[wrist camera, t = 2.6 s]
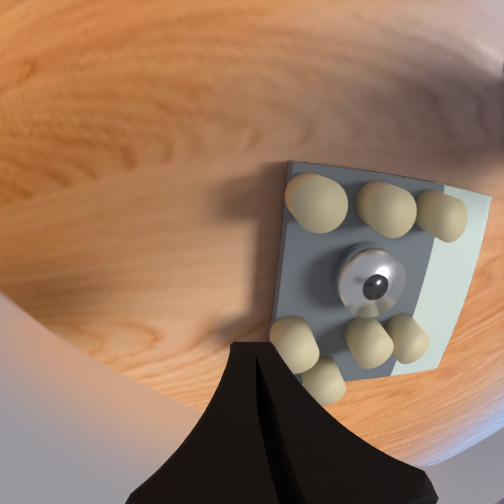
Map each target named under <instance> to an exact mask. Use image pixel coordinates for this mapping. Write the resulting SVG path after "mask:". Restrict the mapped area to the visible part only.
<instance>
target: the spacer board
mask: <svg viewBox="0 0 504 504" xmlns="http://www.w3.org/2000/svg"><path fill="white" fill-rule="evenodd" d="M491 197H492V196H489V195H486V194H483V193H480V192H476V191H472V190H468V189H464V188H459V187H455V186H451V185H446V184H441V183H436V182H432V181H427V180H421V179H416V178H411V177H405V176H400V175H394V174H388V173H382V172H376V171H369V170H362V169H355V168H348V167H341V166H333V165H324V164H316V163H307V162H297V161H288V167H287V178H286V189H285V199H284V209H283V219H282V229H281V239H280V248H279V257H278V266H277V275H276V284H275V293H274V301H273V310H272V318H271V326H270V332H269V342H272V343H273V344H274V346H275V348H276V349H277V351H278V352H279V354H280V356H281V357H282V359H283V360H284V361H285V363H286V364H287V366H288V367H289V369H290V370H291V371H292V373H293V374H294V375H295V376H296V378H297V379H298V380H299V381H300V383H301V384H303V385H304V388H305V389H306V390H307V391H308V392H309V393H310V394H311V396H312V397H313V398H314V399H315V400H316V401H317V402H318V403H319V404H320V405H321V406H325V405H329V404H332V403H334V402H336V401H337V400H339V399H340V398H341V397H342V396H343V395H344V393H345V391H346V385H345V383H344V381H352V380H362V379H371V378H379V377H387V376H394V375H401V374H407V373H413V372H419V371H425V370H431V369H436V368H437V366H438V364H439V362H440V360H441V358H442V355H443V353H444V351H445V349H446V346H447V344H448V342H449V339H450V337H451V335H452V332H453V330H454V327H455V325H456V322H457V320H458V317H459V314H460V312H461V309H462V306H463V303H464V300H465V298H466V295H467V292H468V289H469V286H470V282H471V279H472V276H473V273H474V269H475V266H476V263H477V259H478V255H479V252H480V248H481V244H482V240H483V236H484V231H485V227H486V222H487V218H488V213H489V208H490V202H491ZM362 241H371V242H375V243H378V244H380V245H381V246H382V247H384V248H385V249H386V250H387V251H389V252H390V253H391V254H392V255H394V256H395V257H396V258H397V259H398V260H399V261H400V262H401V263H402V265H403V267H404V270H405V274H406V281H405V287H404V290H403V292H402V294H401V296H400V298H399V299H398V301H397V302H396V303H395V304H394V306H392V307H391V308H390V309H389V310H388V311H386V312H384V313H383V314H381V315H378V316H375V317H370V318H362V317H358V316H355V315H353V314H352V313H351V312H349V311H348V309H347V308H346V307H345V305H344V303H343V302H342V300H341V299H340V297H339V296H338V294H337V293H336V291H335V289H334V287H333V284H332V270H333V266H334V264H335V262H336V260H337V258H338V257H339V255H340V254H341V253H342V252H343V251H344V250H345V249H347V248H348V247H349V246H351V245H353V244H355V243H358V242H362Z"/></svg>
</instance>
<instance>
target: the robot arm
mask: <svg viewBox="0 0 504 504" xmlns="http://www.w3.org/2000/svg"><path fill="white" fill-rule="evenodd" d="M437 501H438V496H437V494H436V492H435V490H434V487H433V485H432V483H431V481H430V479H429V478H428V476H427V475H426V473H425V471H423V470H421V469H418V468H416V467H413V466H411V465H409V464H406V463H404V462H402V461H399V460H397V459H395V458H393V457H391V456H389V455H387V454H385V453H384V452H382V451H380V450H378V449H376V448H375V447H373V446H371V445H370V444H368V443H367V442H365V441H364V440H362V439H361V438H360V437H358V436H357V435H355V434H354V433H352V432H351V431H349V430H348V429H347V428H346V427H344V426H343V425H342V424H341V423H339V422H338V421H337V420H336V419H335V418H334V417H333V416H331V415H330V414H329V413H328V412H327V411H326V410H325V409H324V408H323V407H322V406H321V405H320V404H319V403H318V402H317V401H316V400H315V399H314V398H313V397H312V396H311V394H310V393H309V392H308V391H307V390H306V389H305V388H304V386H303V385H302V384H301V383H300V381H299V380H298V379H297V378H296V376H295V375H294V374H293V373H292V371H291V370H290V369H289V367H288V366H287V364H286V363H285V361H284V360H283V359H282V357H281V356H280V354H279V352H278V351H277V349H276V348H275V346H274V344H273V343H272V342H233V343H231V344H230V354H229V358H228V361H227V365H226V368H225V370H224V373H223V375H222V378H221V380H220V383H219V385H218V387H217V389H216V391H215V393H214V395H213V397H212V399H211V401H210V403H209V405H208V406H207V408H206V410H205V412H204V413H203V415H202V417H201V418H200V419H199V421H198V423H197V424H196V426H195V427H194V428H193V430H192V431H191V433H190V434H189V435H188V436H187V438H186V439H185V440H184V442H183V443H182V444H181V445H180V447H179V448H178V449H177V450H176V451H175V453H173V455H172V456H171V457H170V458H169V459H168V460H167V461H166V462H165V463H164V464H163V465H162V466H161V468H159V470H157V471H156V472H155V473H154V474H153V475H152V476H151V477H150V478H149V479H147V480H146V481H145V482H144V483H143V484H142V485H140V486H139V487H138V488H137V489H136V490H134V491H133V492H132V493H131V494H130V496H129V498H128V499H127V501H126V503H125V504H436V503H437ZM495 504H504V498H503V499H501V500H500V501H498V502H497V503H495Z"/></svg>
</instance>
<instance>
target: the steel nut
mask: <svg viewBox="0 0 504 504" xmlns="http://www.w3.org/2000/svg"><path fill="white" fill-rule="evenodd" d="M405 281H406V274H405V270H404V267H403V265H402V263H401V262H400V261H399V260H398V259H397V258H396V257H395V256H394V255H392V254H391V253H390V252H389V251H387V250H386V249H385V248H384V247H382V246H381V245H380V244H378V243H375V242H371V241H362V242H358V243H355V244H353V245H351V246H349V247H348V248H347V249H345V250H344V251H343V252H342V253H341V254H340V255H339V257H338V258H337V260H336V262H335V264H334V266H333V270H332V284H333V287H334V289H335V291H336V293H337V294H338V296H339V297H340V299H341V300H342V302H343V303H344V305H345V307H346V308H347V309H348V311H349V312H351V313H352V314H353V315H355V316H358V317H362V318H370V317H375V316H378V315H381V314H383V313H384V312H386V311H388V310H389V309H390V308H391V307H392V306H394V304H395V303H396V302H397V301H398V299H399V298H400V296H401V294H402V292H403V290H404V287H405Z"/></svg>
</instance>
